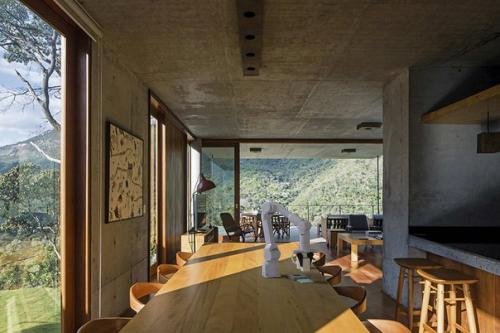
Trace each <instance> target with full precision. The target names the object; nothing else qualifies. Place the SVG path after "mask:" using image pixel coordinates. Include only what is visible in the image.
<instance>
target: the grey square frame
mask: <svg viewBox="0 0 500 333" xmlns="http://www.w3.org/2000/svg"><path fill="white" fill-rule="evenodd" d="M286 278H289V279H290V280H292V281H297V280H300V279H308V275H305V274H303V273H301V272H299V273H287V274H286Z"/></svg>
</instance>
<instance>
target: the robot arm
mask: <svg viewBox="0 0 500 333" xmlns="http://www.w3.org/2000/svg"><path fill="white" fill-rule="evenodd" d="M260 207H261V215H260V217H261V223H262V229H263V235H264V240H265V246H264V248H263V252H264V253H263V258H264V260H265V261H262V263H261V269H262V271H261V276H262V277H263V278H265V279H269V278H281V277H282V275H280V272H279V260H280V258H281V255H282V254H281V251H280V249H279V246H278V245H277V244H276V241H275V236H274V231H273V230H274V229H273V225H272V224H273V223H272V219H271V218H272V217H273V215H274V214H276V213H279V214H281V215H282V216H284V217H286V218H287V219H288V221H289V223H291V224H293V225H294V226H295V227H297V230H298V233H299V248H297V249H298V250H296V249H293V250H291V251H292V253H291V255H292V254H294V255H295V256H297V258H298V260H299V263H300V266H301V267H303V255H302V253H307V255H306V257H307V258H310V266H311V264H312V260H313V258H314V256H315V253H316V254H317V253H318V248H311V240H310V239H311V231H310V230H311V229H312V223H311V221H310V220H309V219H305V218H304V217H301V216H300V215H299V214H298V212H296V213H295V212H293V213H292V212H291V211H289V210H288V209H286V208H285V207H284V206H283V205H281V203H278V201H265V202H263V204H262V205H261V206H260Z"/></svg>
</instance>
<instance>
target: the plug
mask: <svg viewBox="0 0 500 333" xmlns="http://www.w3.org/2000/svg"><path fill="white" fill-rule="evenodd" d="M299 270H300V271H301V272H303V273H305V272H310V271H311V265H310V258H307V256H306V257H303V267H301V266H300V269H299Z"/></svg>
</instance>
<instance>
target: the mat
mask: <svg viewBox="0 0 500 333" xmlns="http://www.w3.org/2000/svg"><path fill="white" fill-rule="evenodd" d="M296 281H297V282H299V283H301V284H313V283H315V281H313V280H311V279H310V278H307V279H300V280H296Z"/></svg>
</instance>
